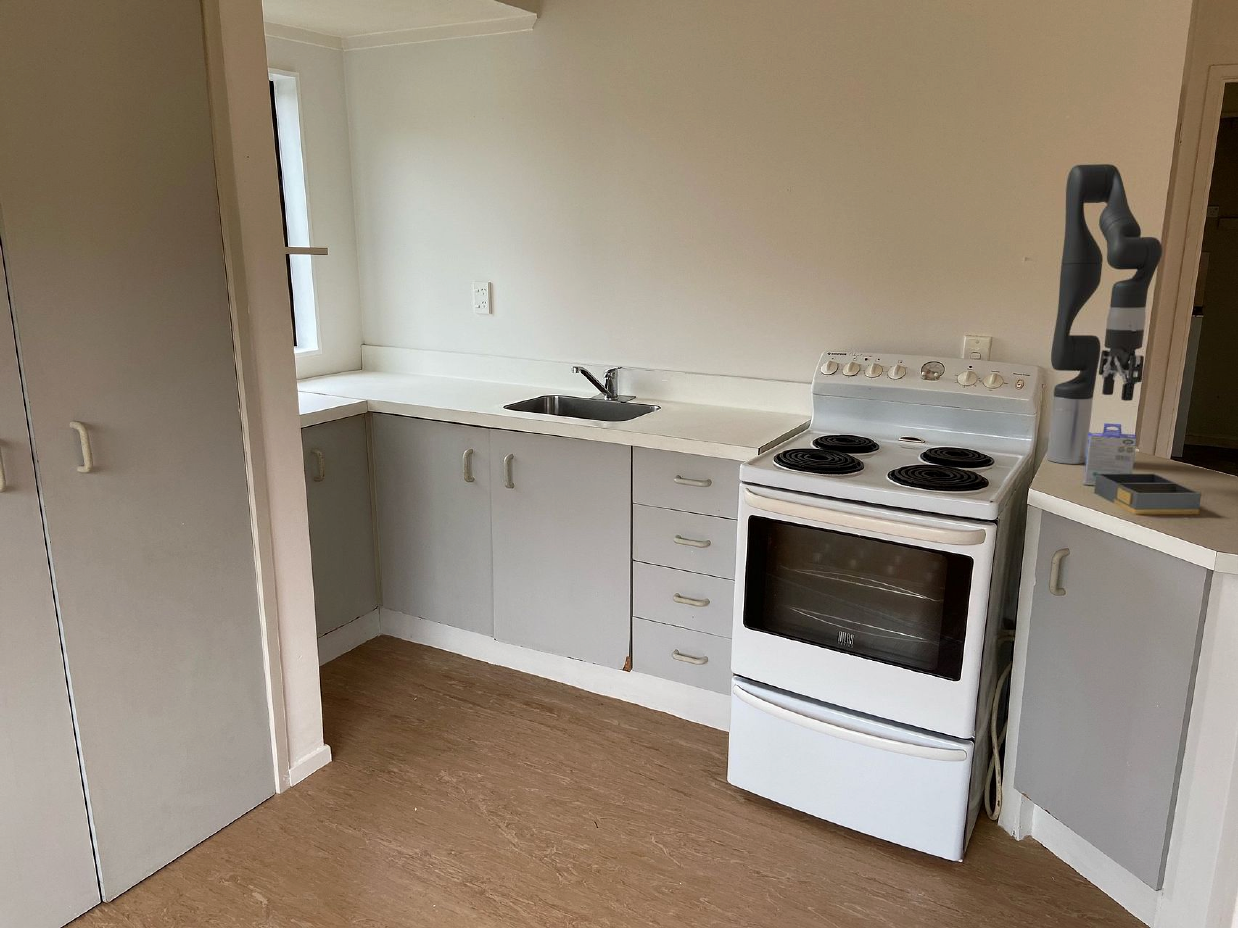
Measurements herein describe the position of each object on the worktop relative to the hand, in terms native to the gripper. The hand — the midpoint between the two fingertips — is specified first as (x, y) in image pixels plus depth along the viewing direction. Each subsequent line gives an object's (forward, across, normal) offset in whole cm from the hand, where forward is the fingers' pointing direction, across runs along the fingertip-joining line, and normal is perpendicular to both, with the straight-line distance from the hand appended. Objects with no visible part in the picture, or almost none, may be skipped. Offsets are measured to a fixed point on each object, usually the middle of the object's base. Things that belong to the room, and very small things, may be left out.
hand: (1116, 397), depth 197 cm
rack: (+21, +16, 0) cm, 26 cm away
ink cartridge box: (+21, 0, 0) cm, 21 cm away
